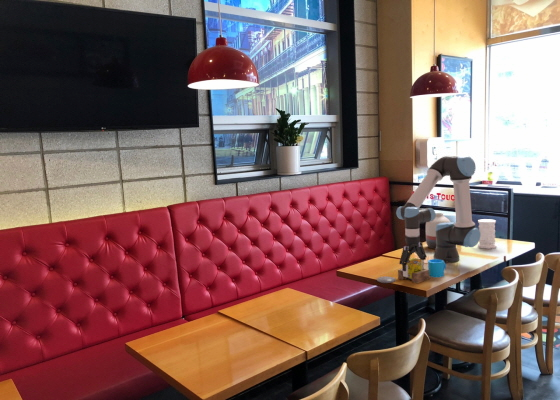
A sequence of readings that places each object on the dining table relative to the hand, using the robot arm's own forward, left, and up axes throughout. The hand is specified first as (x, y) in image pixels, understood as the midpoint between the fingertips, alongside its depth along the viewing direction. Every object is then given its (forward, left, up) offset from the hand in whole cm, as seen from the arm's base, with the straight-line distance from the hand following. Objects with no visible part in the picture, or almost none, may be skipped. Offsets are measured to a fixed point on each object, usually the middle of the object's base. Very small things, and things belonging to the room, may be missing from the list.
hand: (413, 273), depth 242 cm
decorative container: (-90, -9, -3) cm, 90 cm away
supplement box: (0, 0, -3) cm, 3 cm away
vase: (-69, -32, -3) cm, 76 cm away
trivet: (+12, -9, -3) cm, 15 cm away
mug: (-15, +5, -3) cm, 16 cm away
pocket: (0, 0, -3) cm, 3 cm away
